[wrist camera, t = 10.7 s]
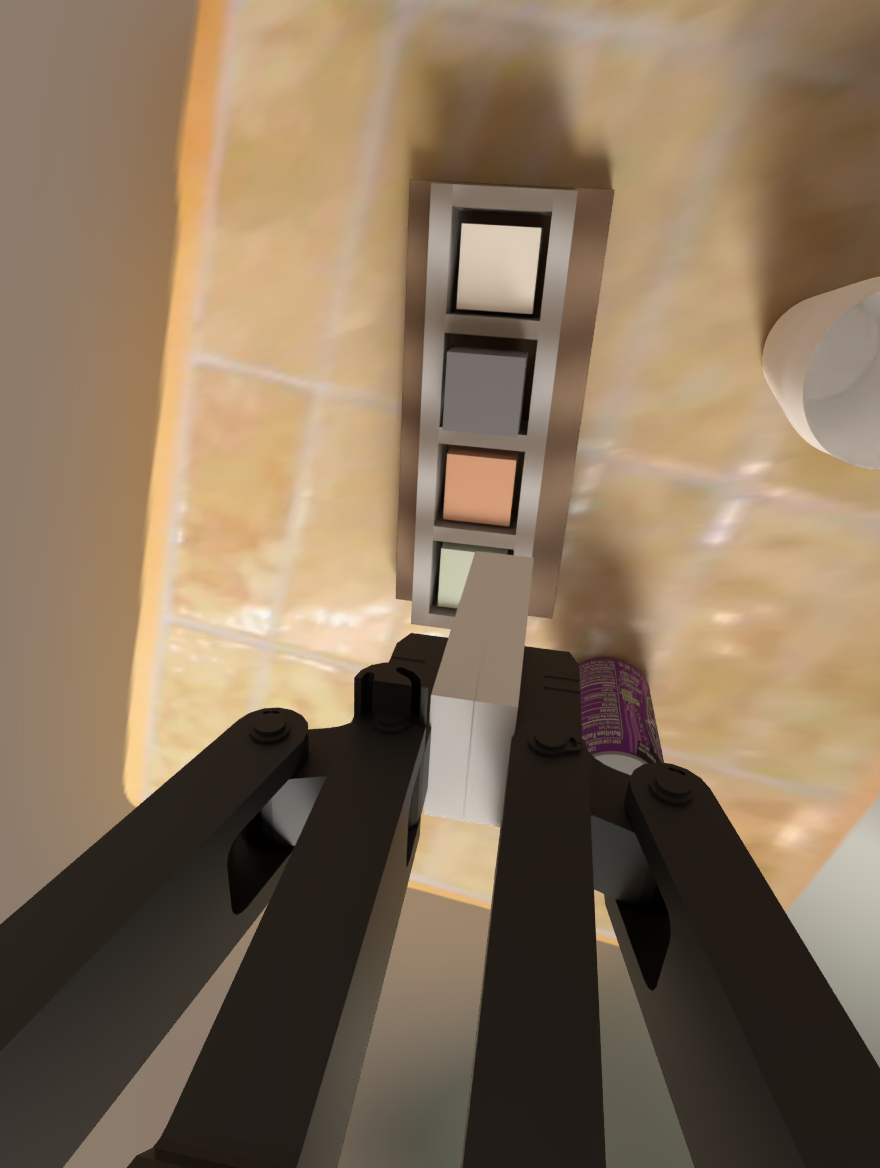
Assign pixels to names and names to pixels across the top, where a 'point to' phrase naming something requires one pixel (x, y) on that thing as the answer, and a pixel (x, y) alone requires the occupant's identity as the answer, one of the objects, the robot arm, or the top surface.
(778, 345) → the cup
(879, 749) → the top surface
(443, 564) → the key sage
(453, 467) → the key terracotta
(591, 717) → the beverage can
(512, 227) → the key ivory
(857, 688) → the top surface
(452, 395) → the key charcoal
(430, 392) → the slotted block tray
